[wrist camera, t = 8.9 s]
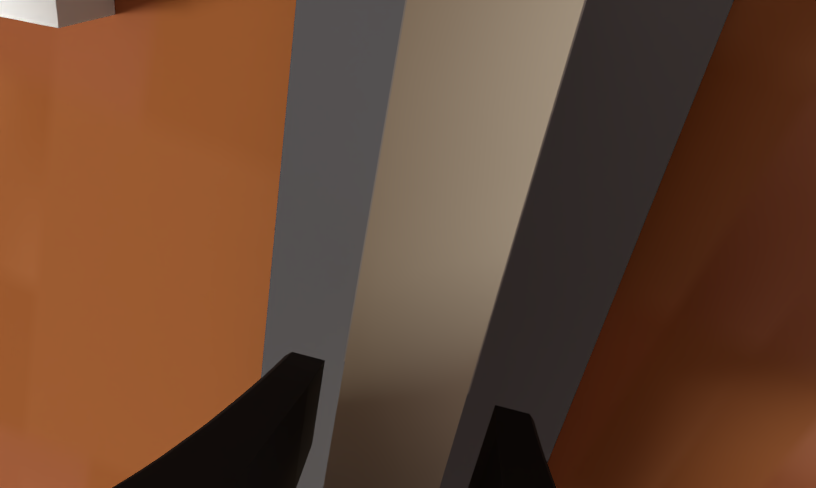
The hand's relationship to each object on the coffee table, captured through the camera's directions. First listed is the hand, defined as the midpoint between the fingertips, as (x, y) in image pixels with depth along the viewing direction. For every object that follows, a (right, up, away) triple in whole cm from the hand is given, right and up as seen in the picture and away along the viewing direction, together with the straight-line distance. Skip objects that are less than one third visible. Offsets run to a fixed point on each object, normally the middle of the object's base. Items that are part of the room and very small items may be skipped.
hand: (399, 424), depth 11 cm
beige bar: (0, +1, +2) cm, 3 cm away
